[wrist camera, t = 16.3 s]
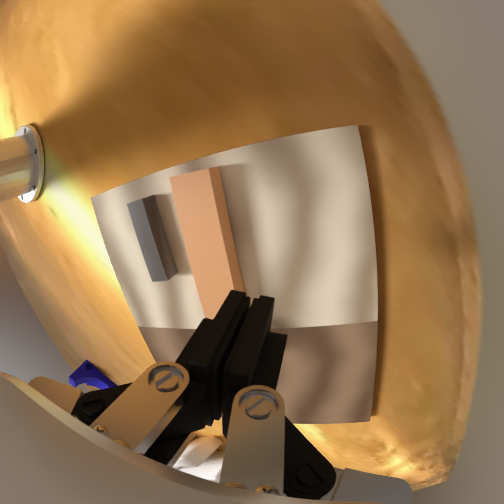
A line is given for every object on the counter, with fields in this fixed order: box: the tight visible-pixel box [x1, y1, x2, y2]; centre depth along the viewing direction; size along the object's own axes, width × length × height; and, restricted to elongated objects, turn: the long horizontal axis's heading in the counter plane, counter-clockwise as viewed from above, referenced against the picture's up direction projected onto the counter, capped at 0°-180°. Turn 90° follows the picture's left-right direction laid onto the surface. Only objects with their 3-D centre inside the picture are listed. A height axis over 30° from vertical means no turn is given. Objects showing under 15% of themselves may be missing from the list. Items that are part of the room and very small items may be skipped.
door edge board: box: [91, 125, 378, 424], centre depth 27 cm, size 28×34×3 cm
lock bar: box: [169, 166, 244, 319], centre depth 24 cm, size 18×5×3 cm, turn 10°
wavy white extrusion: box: [172, 436, 225, 483], centre depth 39 cm, size 35×16×11 cm, turn 43°
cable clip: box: [69, 360, 117, 389], centre depth 42 cm, size 12×4×6 cm, turn 59°
